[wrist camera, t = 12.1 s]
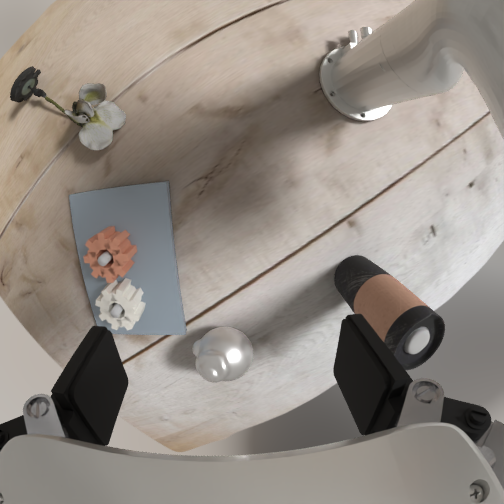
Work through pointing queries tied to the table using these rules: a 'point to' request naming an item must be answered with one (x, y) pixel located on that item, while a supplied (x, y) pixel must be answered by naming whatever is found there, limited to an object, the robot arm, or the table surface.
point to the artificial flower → (79, 109)
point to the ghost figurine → (223, 354)
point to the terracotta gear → (117, 247)
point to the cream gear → (126, 298)
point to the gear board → (146, 258)
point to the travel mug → (390, 310)
